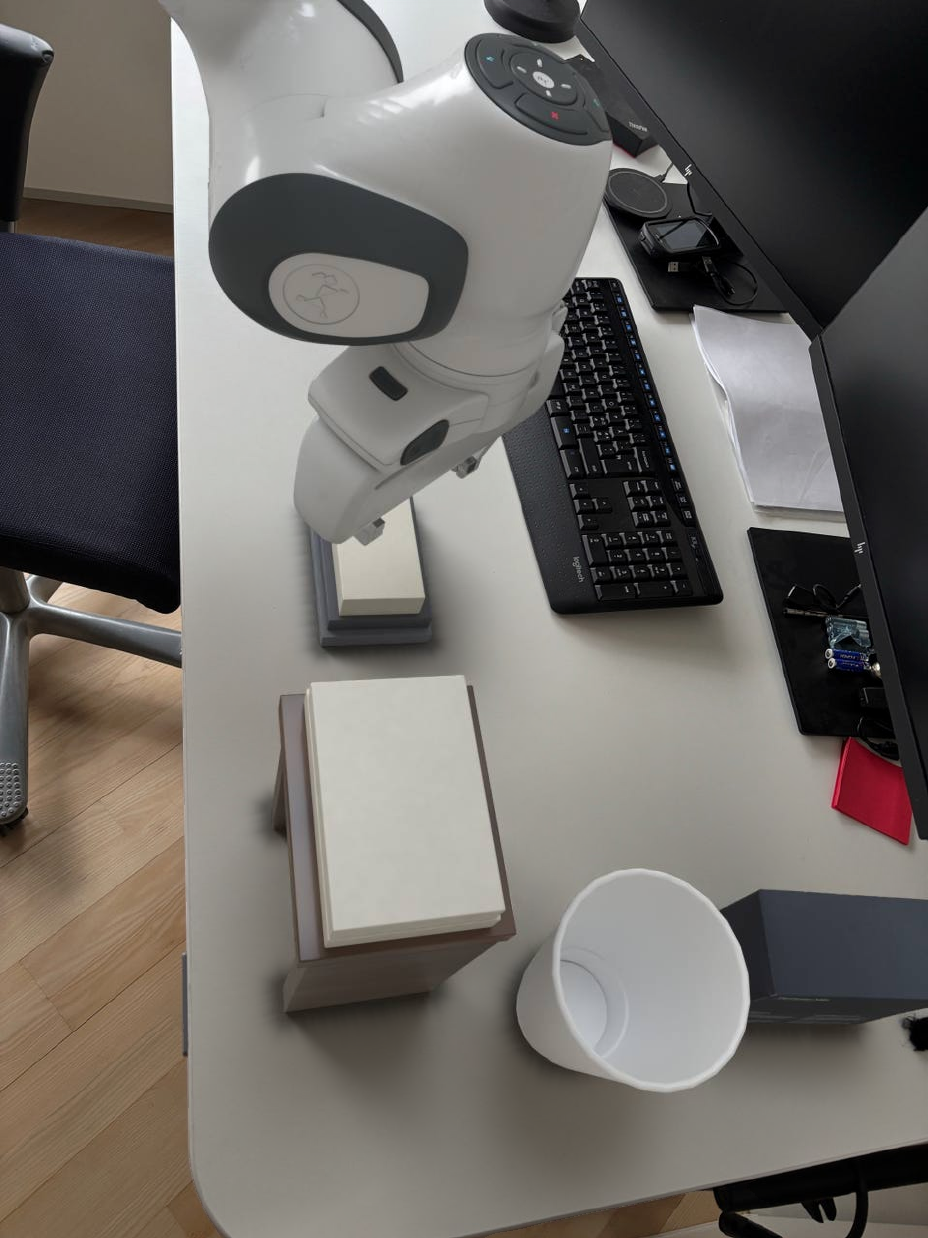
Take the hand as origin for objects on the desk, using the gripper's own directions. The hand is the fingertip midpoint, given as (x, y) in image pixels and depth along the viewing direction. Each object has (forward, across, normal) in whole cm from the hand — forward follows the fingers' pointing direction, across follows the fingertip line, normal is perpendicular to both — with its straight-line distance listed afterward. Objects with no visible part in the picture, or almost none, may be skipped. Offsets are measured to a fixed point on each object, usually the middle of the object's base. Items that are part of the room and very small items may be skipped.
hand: (414, 500), depth 63 cm
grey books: (+16, -2, -3) cm, 17 cm away
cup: (+16, +12, +32) cm, 37 cm away
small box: (+16, -2, +41) cm, 44 cm away
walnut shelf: (+16, +18, +16) cm, 28 cm away
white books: (-4, +18, +16) cm, 24 cm away
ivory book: (+13, -2, -3) cm, 14 cm away
